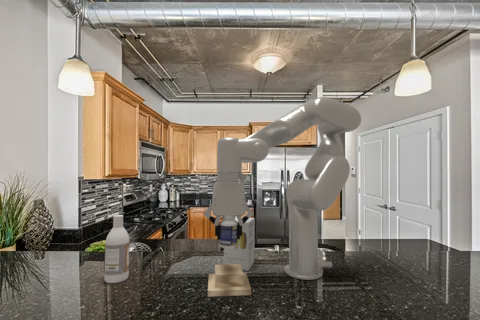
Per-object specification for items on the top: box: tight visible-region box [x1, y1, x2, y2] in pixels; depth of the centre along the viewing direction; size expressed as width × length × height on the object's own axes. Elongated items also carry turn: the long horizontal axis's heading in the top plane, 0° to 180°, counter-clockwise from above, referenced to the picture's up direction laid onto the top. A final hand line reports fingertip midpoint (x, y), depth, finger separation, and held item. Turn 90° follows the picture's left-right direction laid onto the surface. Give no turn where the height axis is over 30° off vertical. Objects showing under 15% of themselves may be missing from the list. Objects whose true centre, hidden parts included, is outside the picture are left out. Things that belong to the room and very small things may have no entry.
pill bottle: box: [218, 215, 237, 249], centre depth 76 cm, size 5×5×10 cm
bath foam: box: [103, 214, 131, 284], centre depth 81 cm, size 7×7×20 cm
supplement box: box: [223, 216, 256, 272], centre depth 94 cm, size 10×9×17 cm
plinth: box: [207, 263, 252, 298], centre depth 76 cm, size 12×12×5 cm
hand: (228, 237), depth 76 cm, fingers closed on pill bottle, 5 cm apart
